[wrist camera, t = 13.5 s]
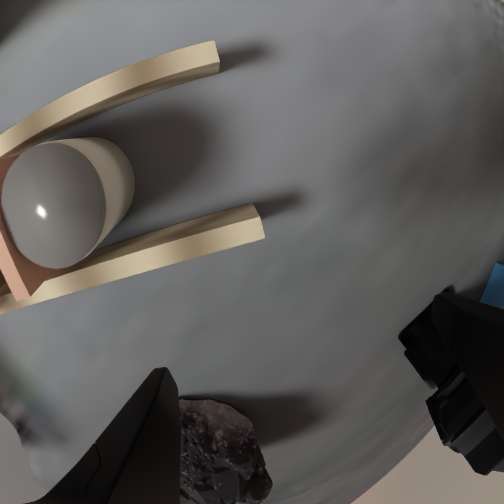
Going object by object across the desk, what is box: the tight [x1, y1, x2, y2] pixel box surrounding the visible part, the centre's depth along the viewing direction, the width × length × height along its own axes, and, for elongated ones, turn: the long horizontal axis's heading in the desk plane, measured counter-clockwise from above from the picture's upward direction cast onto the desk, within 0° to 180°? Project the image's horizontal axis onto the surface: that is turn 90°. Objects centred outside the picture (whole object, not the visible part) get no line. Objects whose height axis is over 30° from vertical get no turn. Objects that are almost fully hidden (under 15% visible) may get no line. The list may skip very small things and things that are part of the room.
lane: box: [0, 40, 265, 314], centre depth 13 cm, size 21×10×6 cm, turn 103°
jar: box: [1, 137, 135, 269], centre depth 14 cm, size 6×6×6 cm
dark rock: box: [179, 399, 273, 504], centre depth 22 cm, size 13×14×10 cm
